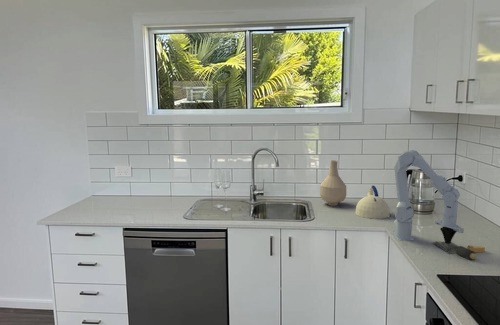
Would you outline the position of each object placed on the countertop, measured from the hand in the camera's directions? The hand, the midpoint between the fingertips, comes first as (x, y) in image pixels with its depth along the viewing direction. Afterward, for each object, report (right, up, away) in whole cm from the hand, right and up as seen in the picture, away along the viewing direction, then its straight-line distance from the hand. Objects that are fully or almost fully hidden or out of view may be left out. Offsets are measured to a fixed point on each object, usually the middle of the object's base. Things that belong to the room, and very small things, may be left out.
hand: (447, 243), depth 176 cm
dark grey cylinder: (+2, -4, -12) cm, 12 cm away
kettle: (-17, +5, +57) cm, 60 cm away
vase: (-36, +9, +82) cm, 90 cm away
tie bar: (+10, -2, -6) cm, 11 cm away
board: (+1, -3, -4) cm, 5 cm away
